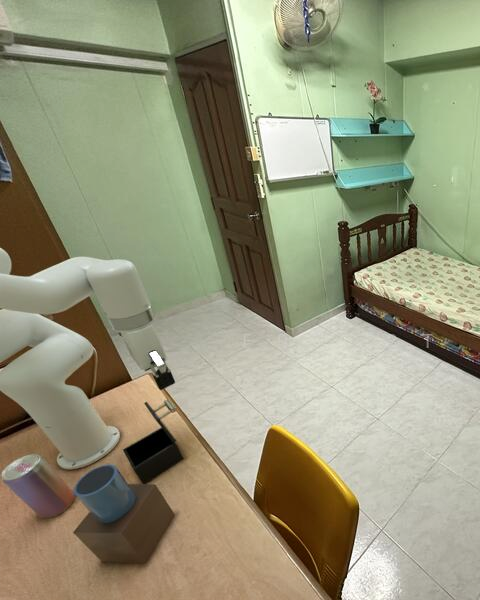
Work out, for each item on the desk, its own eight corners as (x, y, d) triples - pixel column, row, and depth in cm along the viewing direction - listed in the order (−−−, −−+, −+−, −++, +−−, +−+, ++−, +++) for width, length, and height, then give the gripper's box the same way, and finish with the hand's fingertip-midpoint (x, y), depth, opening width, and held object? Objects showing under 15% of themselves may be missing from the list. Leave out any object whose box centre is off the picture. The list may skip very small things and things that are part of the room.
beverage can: (53, 522, 69) (13, 483, 62) (32, 516, 70) (-9, 477, 63) (82, 495, 74) (49, 456, 67) (62, 489, 75) (27, 450, 68)
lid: (155, 420, 74) (176, 407, 76) (143, 403, 78) (163, 391, 81) (174, 443, 79) (192, 430, 82) (162, 425, 83) (180, 414, 86)
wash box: (143, 485, 76) (133, 469, 73) (133, 465, 81) (122, 449, 78) (184, 458, 83) (175, 443, 79) (172, 441, 87) (163, 425, 84)
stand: (102, 562, 63) (72, 532, 57) (135, 513, 71) (112, 483, 65) (146, 563, 63) (121, 533, 57) (174, 514, 71) (155, 484, 65)
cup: (89, 516, 59) (65, 489, 55) (123, 486, 64) (103, 459, 60) (109, 528, 58) (86, 502, 53) (143, 497, 63) (124, 470, 58)
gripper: (98, 309, 69) (128, 368, 77) (123, 340, 60) (154, 403, 68) (139, 297, 74) (163, 354, 82) (168, 324, 65) (191, 384, 73)
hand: (159, 376), depth 75 cm, fingers open, 9 cm apart
